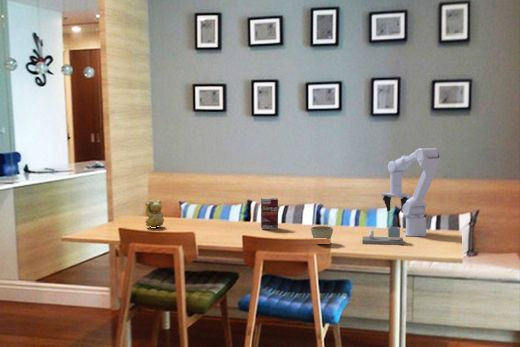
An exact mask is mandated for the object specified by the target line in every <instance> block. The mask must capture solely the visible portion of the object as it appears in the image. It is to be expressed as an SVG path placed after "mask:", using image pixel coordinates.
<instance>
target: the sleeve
mask: <svg viewBox="0 0 520 347" xmlns="http://www.w3.org/2000/svg"><path fill="white" fill-rule="evenodd" d="M387 237H388V240H400V237H401V228H400V226H387Z"/></svg>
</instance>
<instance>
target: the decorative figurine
mask: <svg viewBox="0 0 520 347" xmlns="http://www.w3.org/2000/svg"><path fill="white" fill-rule="evenodd" d="M144 206H146V209H145V214H146V216H147V218H146V219H145V225H146V227H149V228H150V226H151V227H157V226H159V227H161V226H163V225H164V222H165V219H164V214H163V212H162V209H163V207H162V206H163V204H162V200H161V199H158V200H156V202H155V201H154V200H153V199H150V200H149V202H145V205H144Z"/></svg>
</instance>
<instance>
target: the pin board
mask: <svg viewBox="0 0 520 347" xmlns="http://www.w3.org/2000/svg"><path fill="white" fill-rule="evenodd" d="M368 232H369V233H368V235H369V236H362V240H361V241H362V242H361V243H362V244H363V245H365V244H366V245H371V244H372V245H394V246H395V245H398V246H403V245H404V238H403V237H401V236H400V240H388V236H375V232H374V230H373V229H369V231H368Z"/></svg>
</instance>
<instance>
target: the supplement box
mask: <svg viewBox="0 0 520 347" xmlns="http://www.w3.org/2000/svg"><path fill="white" fill-rule="evenodd" d="M260 229H261V231H264V230H263V229H270V230H278V229H279V199H278V198H277V197H272V198H271V197H270V198H267V197H264V198H260Z"/></svg>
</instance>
